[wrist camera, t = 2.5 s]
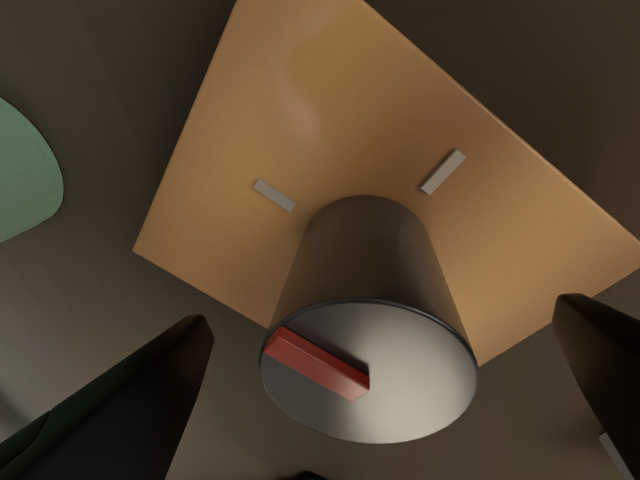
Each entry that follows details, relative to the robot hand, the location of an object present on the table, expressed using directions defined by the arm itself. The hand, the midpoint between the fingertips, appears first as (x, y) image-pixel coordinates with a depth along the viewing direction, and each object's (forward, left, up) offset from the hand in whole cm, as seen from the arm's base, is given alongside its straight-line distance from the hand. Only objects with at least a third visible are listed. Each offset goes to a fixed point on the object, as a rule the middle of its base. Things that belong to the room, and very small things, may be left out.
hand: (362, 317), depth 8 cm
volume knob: (0, 0, -3) cm, 3 cm away
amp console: (0, 0, -7) cm, 7 cm away
